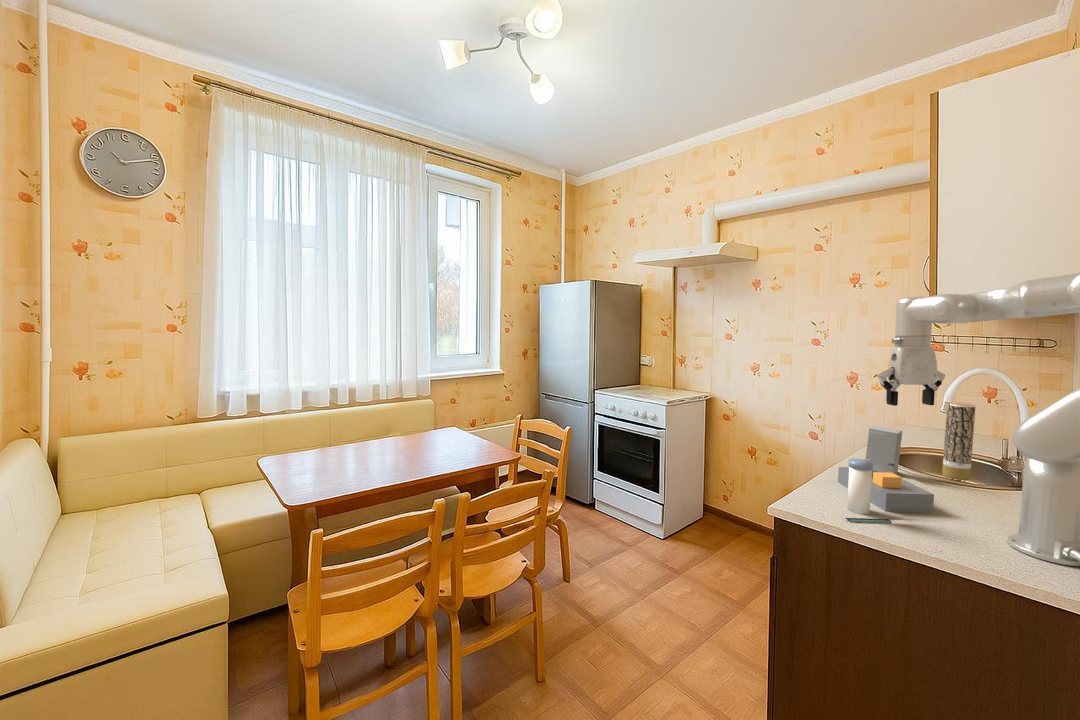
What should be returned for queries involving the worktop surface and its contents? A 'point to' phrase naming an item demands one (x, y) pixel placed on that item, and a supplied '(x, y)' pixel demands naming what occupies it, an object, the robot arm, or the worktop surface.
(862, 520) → the thin grey strip
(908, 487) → the housing
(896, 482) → the release slider
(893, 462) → the skincare box
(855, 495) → the cartridge
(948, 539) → the worktop surface
